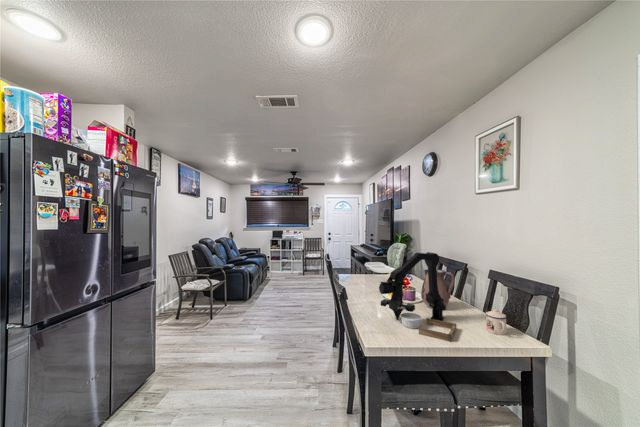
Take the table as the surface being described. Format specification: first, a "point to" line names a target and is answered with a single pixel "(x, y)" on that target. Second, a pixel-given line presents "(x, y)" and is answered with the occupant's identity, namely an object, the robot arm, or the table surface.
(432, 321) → the walnut dock
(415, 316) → the ramekin
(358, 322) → the table surface
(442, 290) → the ceramic pitcher
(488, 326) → the teacup with lid
